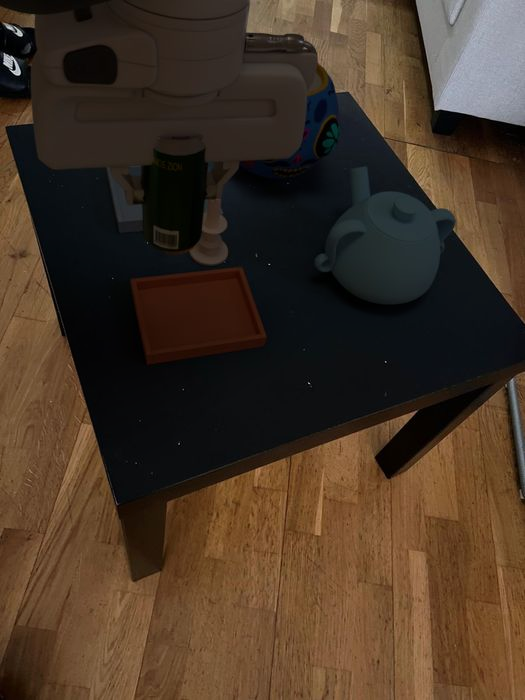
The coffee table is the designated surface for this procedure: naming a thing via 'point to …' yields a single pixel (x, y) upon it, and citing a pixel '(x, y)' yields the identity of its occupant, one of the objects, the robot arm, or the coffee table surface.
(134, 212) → the gray tray
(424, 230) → the teapot
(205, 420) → the coffee table surface
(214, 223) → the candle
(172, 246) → the beer can
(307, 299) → the coffee table surface
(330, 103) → the ceramic pot
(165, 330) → the terracotta tray
